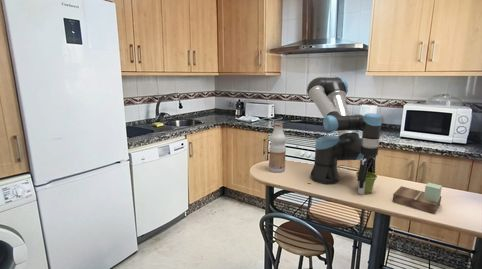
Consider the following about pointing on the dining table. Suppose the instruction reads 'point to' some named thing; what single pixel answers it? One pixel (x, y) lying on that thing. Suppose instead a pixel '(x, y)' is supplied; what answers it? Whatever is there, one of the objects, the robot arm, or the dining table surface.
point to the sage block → (432, 192)
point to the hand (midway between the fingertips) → (364, 190)
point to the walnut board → (415, 200)
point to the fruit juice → (277, 149)
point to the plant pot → (368, 181)
